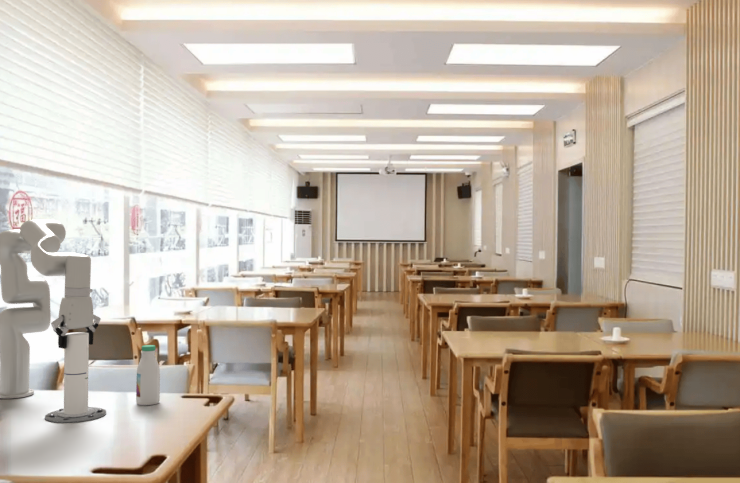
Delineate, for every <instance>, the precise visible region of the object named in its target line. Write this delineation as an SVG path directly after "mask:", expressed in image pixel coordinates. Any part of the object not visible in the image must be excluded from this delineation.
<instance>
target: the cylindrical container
mask: <svg viewBox="0 0 740 483" xmlns="http://www.w3.org/2000/svg"><path fill="white" fill-rule="evenodd" d="M85 332H86V331H85ZM85 332H84V331H82V332H80V331H78V332H67V333H66V335H65V336H67V348H65V349H64V358H63V360H64V365H63V366H64V367H63V409H64V414H71V415H72V414H82V413H85V412H87V411H88V407H89V360H90V359H89V358H90V357H89V345H90V344H89V333H85Z"/></svg>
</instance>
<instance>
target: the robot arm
mask: <svg viewBox="0 0 740 483" xmlns="http://www.w3.org/2000/svg"><path fill="white" fill-rule="evenodd" d="M66 232H67V231H66V228H65V226H64V224H63V223H62V222H60V221H59V220H55V219H29V220H25V221H24V222H23V223H22V224H21V226H20V227H19V229H8V230H3V231H1V232H0V285H1V287H0V288H1V298H2V301H3V302H4V303H5V304H8V305H9V304H10V305H21V304H32V305H33V306H23V307H22V306H21V307H10V308H9V307H8V308H6V309H3V310H2V311H1V312H0V399H4V400H5V399H20V398H25V397H29V396H32V395H34V394H35V390H34V389H31V388H30V365H31V364H30V359H31V358H30V356H31V353H30V352H31V351H30V347H31V346H30V343H29V341H28V340H27V339H26V338H25V336H24V334H31V333H32V334H33V333H41V332H45V331H47V330H48V329H49V328H50V325H51V327H52V329H53V332H54V333H55V334H56V335H57V338H58V340H57V343H58V344H57V345H58V349H65V348H67V336H65V335H66V334H67V333H69V330H77V329H83V328H84V329H85V330H86V331H85V333H89V345H94V333H95V332H96V329H97V328H98V327H99V324H100V322H101V320H102V319H101V317H100V316H98V315H96V314H94V304H93V299H92V298H93V297H92V296H91V294H92V292H93V289H92V288H91V273H92V272H91V271H92V268H91V267H92V259H91V256H90V255H88V254H80V253H77V252H58V251H59V250H60V248H61V244H62V243H63V242H64V241H65V239H66V234H67V233H66ZM20 254H30V261H31V262H30V263H31V264H32V267H33V268H35V270H36V271H37V272H38V273H39V274H41V275H42V276H45V277H63V276H64V297H62V298H61V301H60V304H59V309H58V318H56V319H55V320H53V321H51V293H50V292H51V291H50V285H49V283H48V281H47V280H46V279H45V278H43V277H37V276H35V277H34V276H33V277H31V276H30V277H28V264H27V262H26V261H25V260H24V258H23V257H22V256H21V255H20Z"/></svg>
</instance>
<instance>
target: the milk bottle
mask: <svg viewBox="0 0 740 483" xmlns="http://www.w3.org/2000/svg"><path fill="white" fill-rule="evenodd" d="M159 365H160V364H159V363H158V360H157V358H156V345H155V344H146V345H141V358H140V361H139V363H138V365H137V368H136V392H135V393H136V394H135V395H136V398H135V399H136V400H135V402H136V404H137V405H139V406H153V405H156V404H159V403H160V399H161V398H160V397H161V392H160V391H161V387H160V386H161V384H160V380H161V373H160V372H161V371H160V366H159Z"/></svg>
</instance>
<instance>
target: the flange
mask: <svg viewBox="0 0 740 483" xmlns="http://www.w3.org/2000/svg"><path fill="white" fill-rule="evenodd" d="M106 415H107V410H106V409H104V408H101V407H96V406H94V407H93V406H88V411H87V412H85V413H82V414H72V415H71V414H64V408H59V409H57V410H54V411H51V412H47V413H46V414H45V416H44V419H45V420H46V421H47V422H49V423H50V422H51V423H57V424H72V423H73V424H74V423H82V422H88V421H94V420H99V419H100V418H103V417H105V416H106Z"/></svg>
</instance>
